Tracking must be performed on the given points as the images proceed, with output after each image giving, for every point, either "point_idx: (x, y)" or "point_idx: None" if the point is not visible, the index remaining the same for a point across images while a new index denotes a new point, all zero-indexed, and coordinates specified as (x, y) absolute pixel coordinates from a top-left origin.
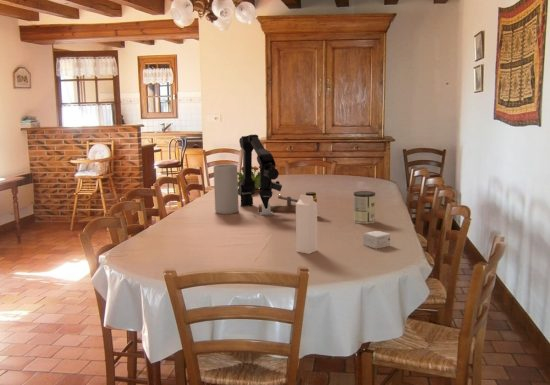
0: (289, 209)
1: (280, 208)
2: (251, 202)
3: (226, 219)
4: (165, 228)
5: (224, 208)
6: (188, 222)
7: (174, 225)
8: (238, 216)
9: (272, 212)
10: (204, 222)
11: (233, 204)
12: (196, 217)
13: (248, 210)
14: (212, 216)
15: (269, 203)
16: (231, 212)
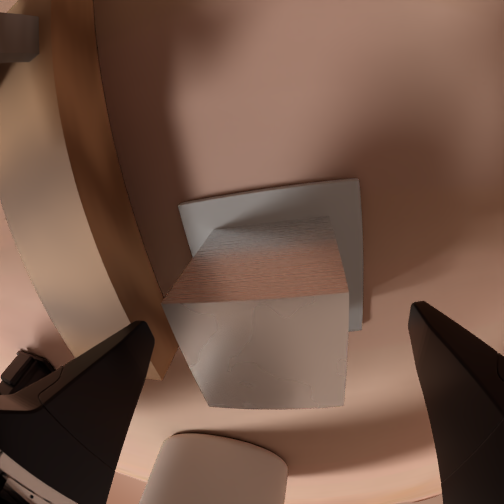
0: (82, 30)
1: (86, 127)
2: (30, 370)
3: (419, 442)
4: None
5: (285, 492)
6: (416, 484)
7: (438, 484)
8: (357, 428)
9: (215, 204)
10: (438, 465)
11: (260, 496)
12: (340, 493)
13: (146, 390)
14: (331, 479)
15: (205, 318)
16: (277, 459)
